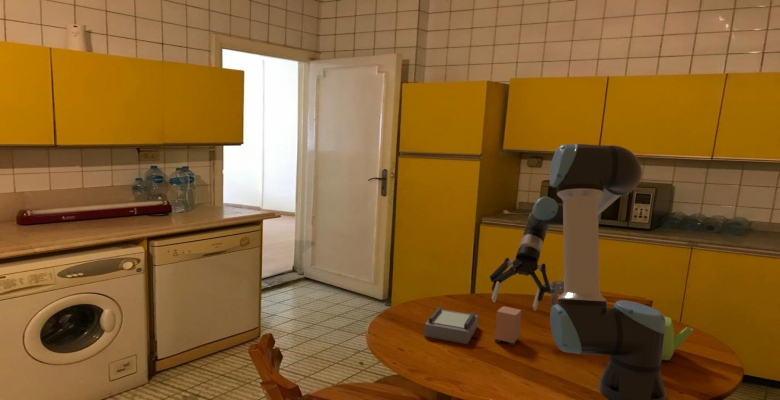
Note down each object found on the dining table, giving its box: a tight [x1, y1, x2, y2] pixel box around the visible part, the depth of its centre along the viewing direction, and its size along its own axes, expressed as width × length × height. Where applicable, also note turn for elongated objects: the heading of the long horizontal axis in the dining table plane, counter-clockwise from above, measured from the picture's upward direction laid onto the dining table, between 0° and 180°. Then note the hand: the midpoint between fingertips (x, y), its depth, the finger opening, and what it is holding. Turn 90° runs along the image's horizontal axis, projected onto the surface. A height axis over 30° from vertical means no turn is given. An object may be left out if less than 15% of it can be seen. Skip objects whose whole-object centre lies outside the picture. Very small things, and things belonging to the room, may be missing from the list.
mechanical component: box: [542, 280, 564, 308], centre depth 193 cm, size 3×10×10 cm, turn 115°
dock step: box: [423, 306, 479, 345], centre depth 166 cm, size 16×14×6 cm
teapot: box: [662, 315, 694, 361], centre depth 154 cm, size 18×20×13 cm
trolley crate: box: [494, 305, 522, 347], centre depth 159 cm, size 6×6×10 cm
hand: (513, 304), depth 164 cm, fingers open, 13 cm apart
